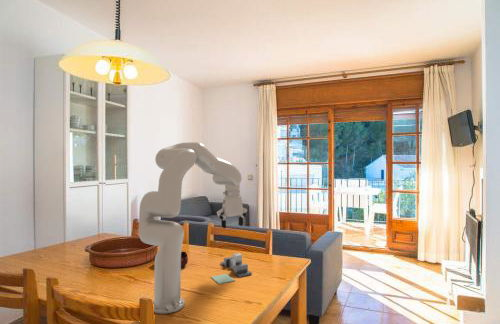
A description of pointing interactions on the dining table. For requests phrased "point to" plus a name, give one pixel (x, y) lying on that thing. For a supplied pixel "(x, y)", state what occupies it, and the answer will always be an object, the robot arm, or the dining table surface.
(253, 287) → the dining table surface
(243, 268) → the vise
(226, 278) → the mat
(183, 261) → the ashtray
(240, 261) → the hook
